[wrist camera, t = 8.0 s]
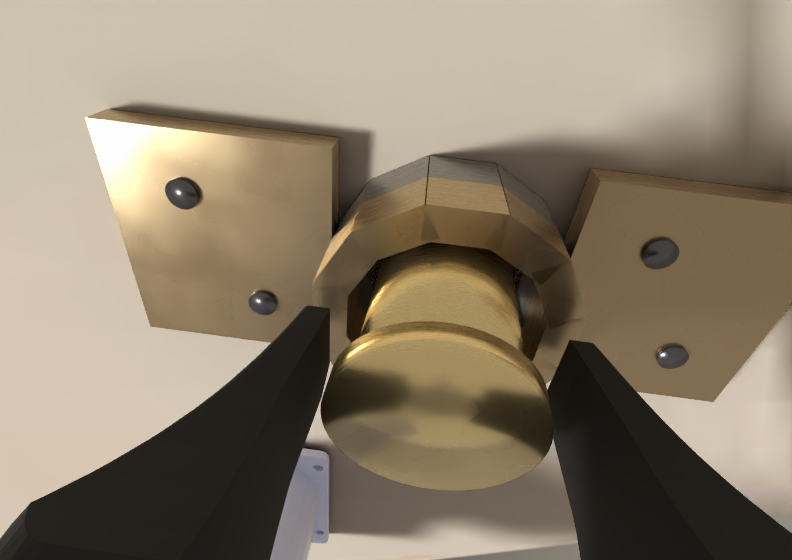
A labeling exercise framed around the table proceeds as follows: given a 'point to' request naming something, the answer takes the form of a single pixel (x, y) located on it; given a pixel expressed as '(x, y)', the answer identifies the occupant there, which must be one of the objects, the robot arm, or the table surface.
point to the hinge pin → (440, 376)
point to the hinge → (450, 224)
